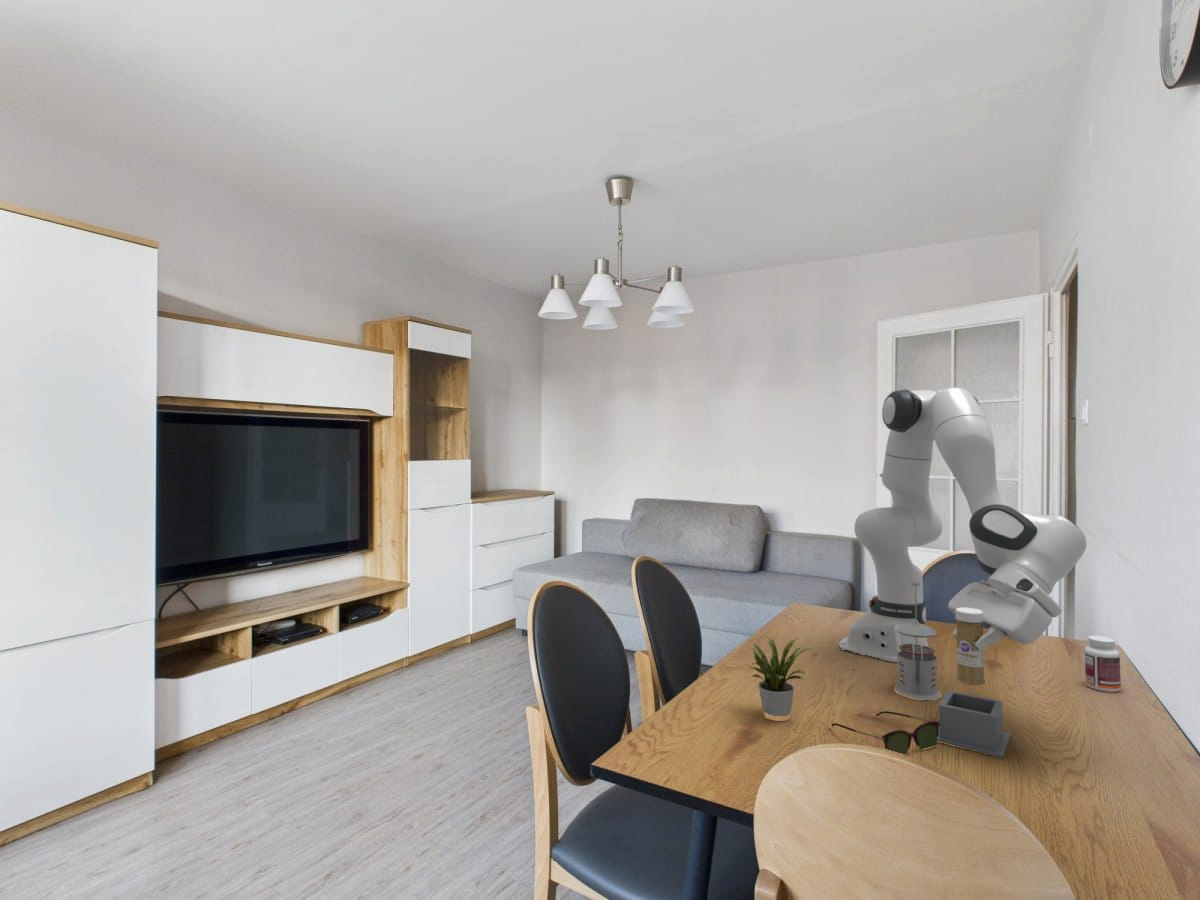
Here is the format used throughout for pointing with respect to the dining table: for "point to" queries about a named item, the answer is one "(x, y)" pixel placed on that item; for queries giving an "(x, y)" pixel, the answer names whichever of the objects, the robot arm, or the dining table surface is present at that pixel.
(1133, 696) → the dining table surface
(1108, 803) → the dining table surface
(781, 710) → the house plant
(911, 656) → the french press
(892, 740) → the sunglasses
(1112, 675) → the pill bottle
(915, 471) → the robot arm
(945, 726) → the square holder
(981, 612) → the sprinkles bottle
